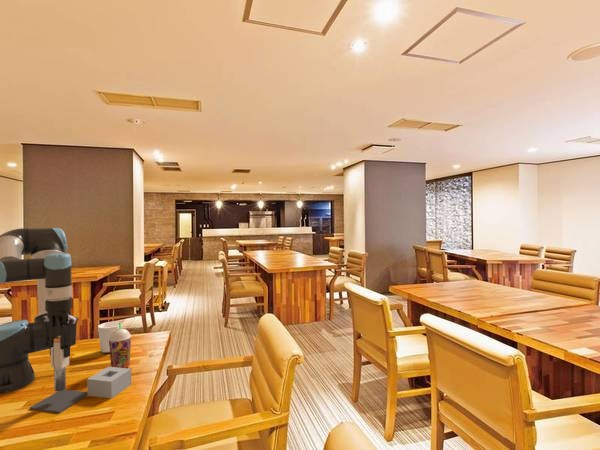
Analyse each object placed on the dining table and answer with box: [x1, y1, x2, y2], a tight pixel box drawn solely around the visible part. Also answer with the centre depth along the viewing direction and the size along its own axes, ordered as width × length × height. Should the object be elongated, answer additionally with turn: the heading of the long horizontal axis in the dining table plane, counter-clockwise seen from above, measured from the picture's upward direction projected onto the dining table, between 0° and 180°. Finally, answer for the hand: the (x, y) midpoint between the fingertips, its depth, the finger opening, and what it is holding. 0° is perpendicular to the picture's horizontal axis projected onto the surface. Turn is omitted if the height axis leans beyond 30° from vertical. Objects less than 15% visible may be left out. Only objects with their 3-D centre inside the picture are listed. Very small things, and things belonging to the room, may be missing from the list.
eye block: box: [86, 366, 132, 399], centre depth 123 cm, size 10×10×6 cm
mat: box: [29, 388, 88, 414], centre depth 115 cm, size 12×12×1 cm
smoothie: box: [109, 321, 132, 369], centre depth 139 cm, size 8×8×20 cm
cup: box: [97, 320, 123, 355], centre depth 158 cm, size 10×10×13 cm
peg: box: [53, 336, 67, 392], centre depth 114 cm, size 3×3×18 cm
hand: (60, 365), depth 115 cm, fingers closed on peg, 3 cm apart
